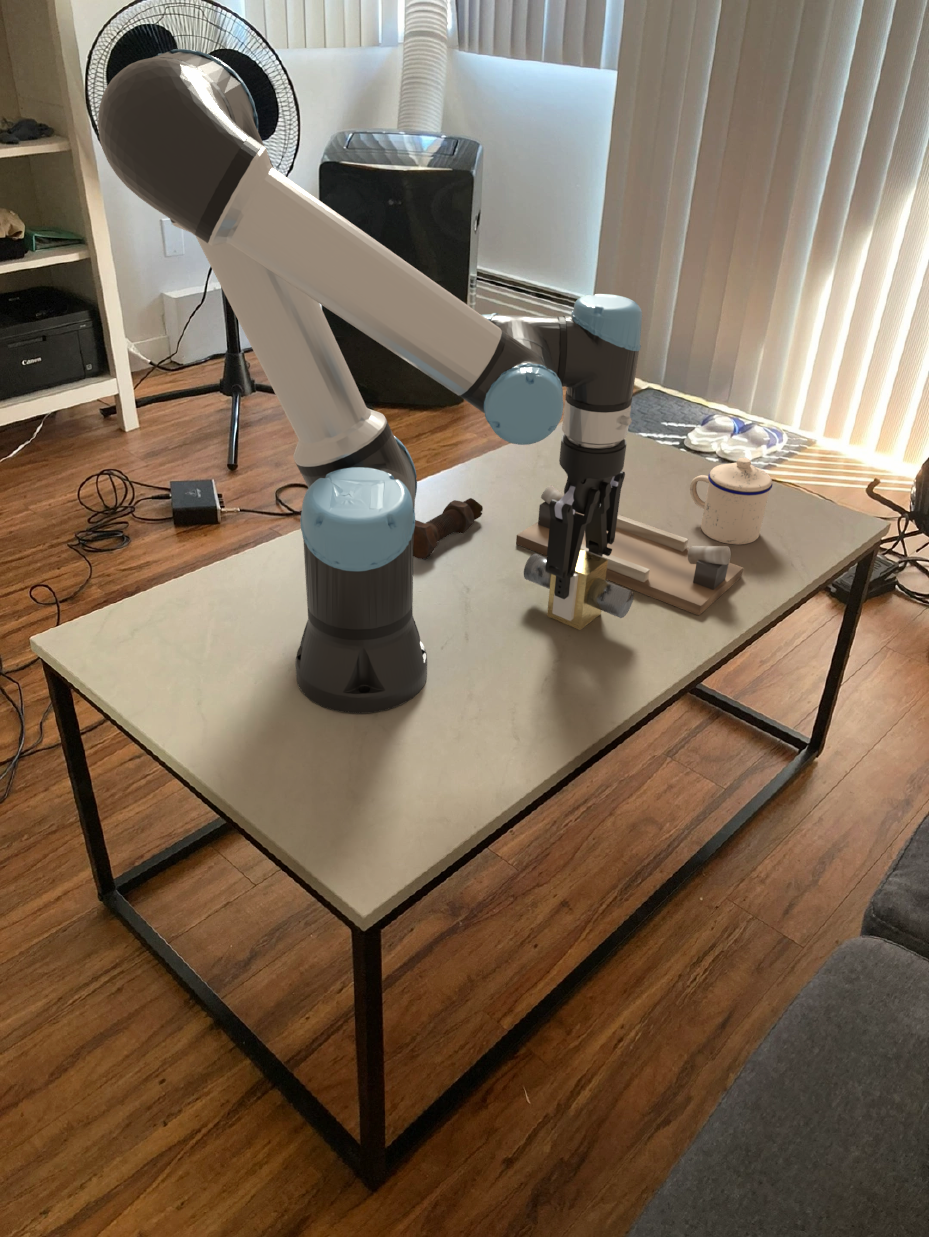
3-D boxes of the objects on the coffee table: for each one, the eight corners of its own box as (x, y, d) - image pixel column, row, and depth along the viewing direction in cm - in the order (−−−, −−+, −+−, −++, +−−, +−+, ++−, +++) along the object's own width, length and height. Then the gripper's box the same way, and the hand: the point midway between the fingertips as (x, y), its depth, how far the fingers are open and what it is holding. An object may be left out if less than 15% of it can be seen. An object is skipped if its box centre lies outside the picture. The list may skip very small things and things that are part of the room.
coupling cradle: (699, 615, 128) (708, 567, 124) (515, 543, 142) (518, 498, 138) (741, 577, 137) (751, 531, 133) (564, 513, 151) (568, 469, 147)
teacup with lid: (771, 531, 148) (787, 459, 142) (743, 552, 143) (759, 479, 136) (699, 506, 155) (712, 436, 148) (670, 525, 149) (682, 454, 142)
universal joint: (611, 643, 122) (619, 587, 117) (518, 603, 129) (522, 550, 124) (631, 626, 125) (639, 571, 121) (539, 588, 132) (544, 536, 128)
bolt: (478, 531, 149) (418, 567, 139) (455, 508, 150) (393, 542, 139) (496, 506, 145) (436, 541, 135) (472, 482, 146) (411, 516, 135)
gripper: (580, 469, 106) (561, 648, 118) (660, 422, 118) (635, 588, 131) (522, 450, 109) (510, 625, 122) (606, 406, 122) (587, 570, 134)
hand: (575, 606), depth 126 cm, fingers closed on universal joint, 5 cm apart
